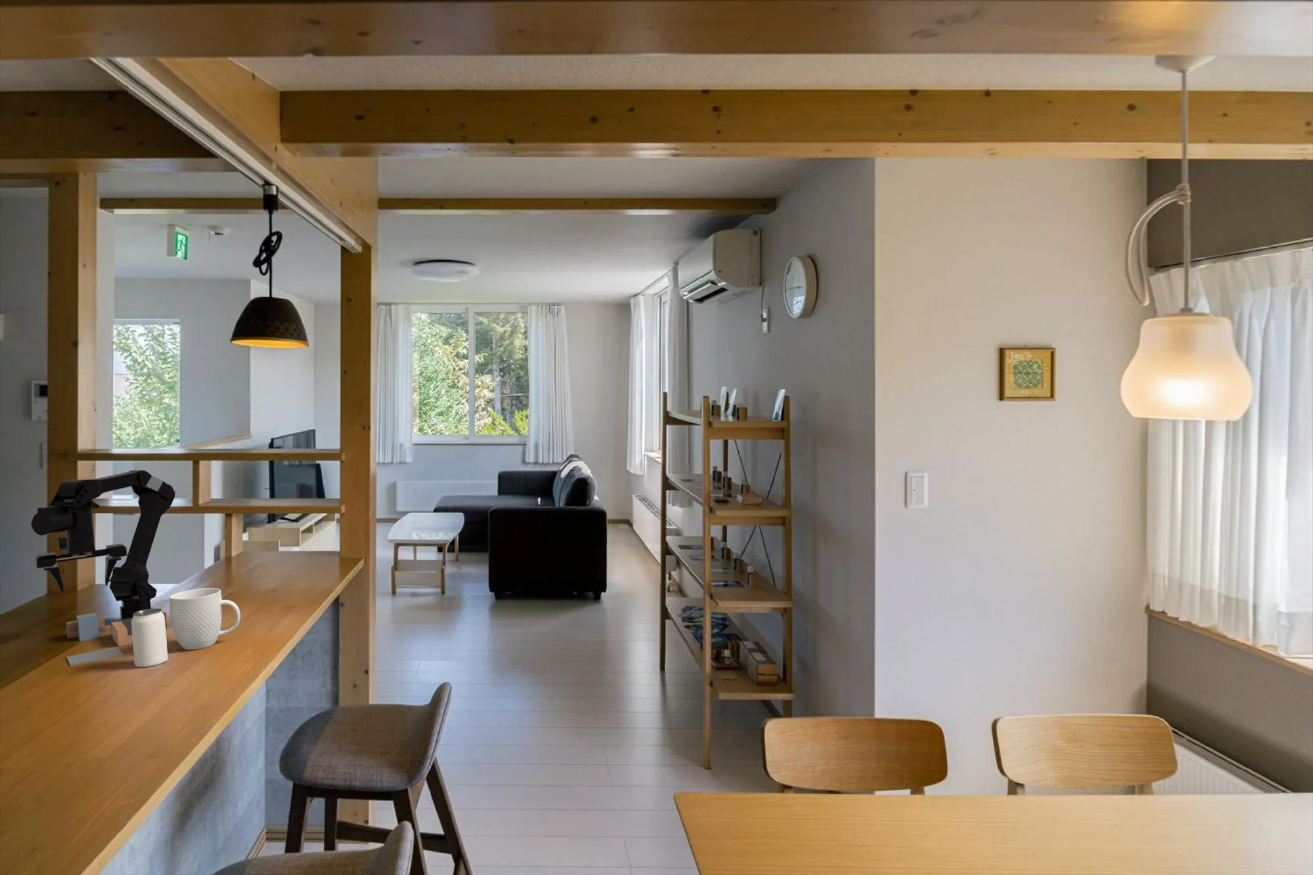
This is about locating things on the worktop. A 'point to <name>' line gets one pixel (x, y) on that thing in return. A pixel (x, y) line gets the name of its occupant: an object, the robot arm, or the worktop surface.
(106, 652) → the pad
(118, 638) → the grey tan flat block
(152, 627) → the can
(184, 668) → the worktop surface
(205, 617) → the mug
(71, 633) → the back block
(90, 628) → the plug
